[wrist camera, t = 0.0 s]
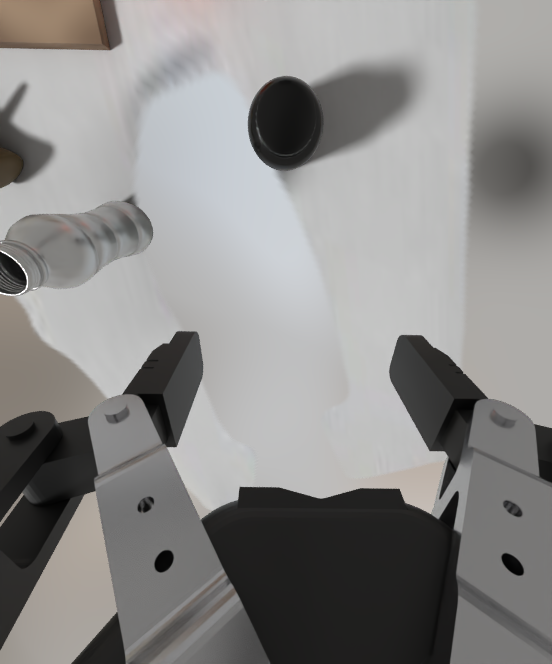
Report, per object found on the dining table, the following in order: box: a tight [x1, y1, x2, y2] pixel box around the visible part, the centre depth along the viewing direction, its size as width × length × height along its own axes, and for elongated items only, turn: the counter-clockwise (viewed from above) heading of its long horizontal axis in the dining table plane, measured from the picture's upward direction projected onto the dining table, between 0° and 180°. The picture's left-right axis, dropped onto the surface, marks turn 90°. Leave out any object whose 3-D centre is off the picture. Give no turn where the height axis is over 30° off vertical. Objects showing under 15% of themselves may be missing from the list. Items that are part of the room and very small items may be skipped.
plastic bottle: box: [0, 201, 153, 296], centre depth 28 cm, size 6×7×20 cm
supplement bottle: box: [248, 76, 323, 171], centre depth 26 cm, size 7×7×12 cm
